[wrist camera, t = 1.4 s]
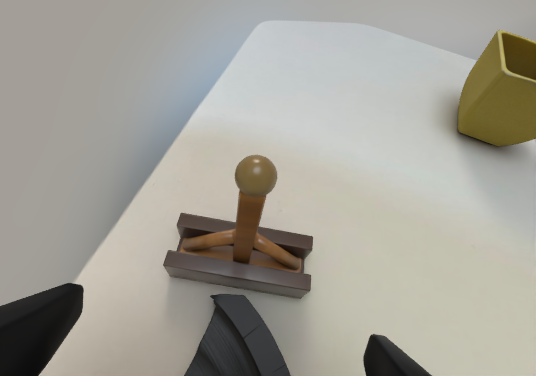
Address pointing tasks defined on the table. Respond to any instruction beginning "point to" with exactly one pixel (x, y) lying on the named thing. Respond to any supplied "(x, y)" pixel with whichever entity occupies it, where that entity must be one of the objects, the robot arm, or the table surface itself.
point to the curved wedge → (237, 343)
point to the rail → (236, 271)
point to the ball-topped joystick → (247, 223)
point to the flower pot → (501, 92)
